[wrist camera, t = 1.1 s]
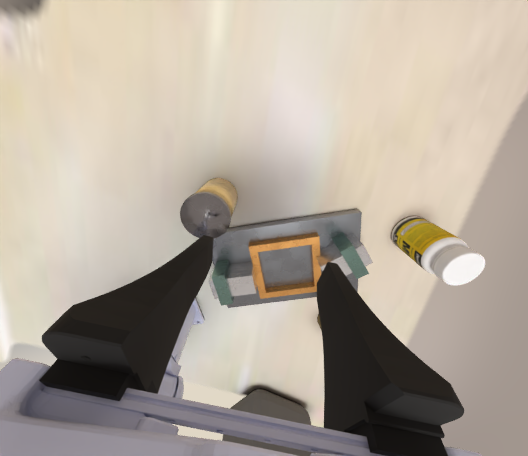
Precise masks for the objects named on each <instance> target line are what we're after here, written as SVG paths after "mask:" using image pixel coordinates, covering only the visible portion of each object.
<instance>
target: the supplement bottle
mask: <svg viewBox="0 0 528 456" xmlns="http://www.w3.org/2000/svg"><path fill="white" fill-rule="evenodd" d="M392 241H393V242H394V244H395V245H396V246H398V247H399V248H400V249H401V250H402V251H403V252H405V253H406V254H407V255H408V256H409V257H410V258H412V259H413V260H414V261H415V262H416V263H417V264H418V265H420V266H421V267H422V268H423V269H424V270H426V271H427V272H429V273H432V274H435V275H436V276H437V277H438V278H440V279H441V280H443V281H444V282H445V283H447V284H449V285H462V284H465V283H468V282H470V281H471V280H473V279H475V278H476V277H477V276H478V275H479V274H480V273H481V272H482V270H483V269H484V267H485V260H484V258H483V256H482V255H480V254H479V253H477V252H475V251H473V250H472V249H470V248H468V246H467V244H466V243H465V242H464V241H463V240H461V239H460V238H458V237H456V236H454V235H452V234H451V233H449V232H447V231H445V230H443V229H442V228H440V227H438V226H436V225H434V224H433V223H431V222H429V221H427V220H425V219H424V218H421V217H418V216H412V217H408V218H405V219H403V220H402V221H400V222H399V223H398V224H397V225H396V226H395V227H394V229H393V231H392Z"/></svg>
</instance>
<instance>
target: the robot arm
mask: <svg viewBox="0 0 528 456" xmlns="http://www.w3.org/2000/svg"><path fill="white" fill-rule="evenodd" d="M212 259H213V237H210V236H206V235H203V236H202V237H200V238H199V239H198V240H197V241H196V242H194V243H193V244H192V245H191V246H189V247H188V248H187V249H186V250H184V251H183V252H182V253H180V254H179V255H178V256H176V257H175V258H173V259H172V260H170V261H169V262H167V263H166V264H164V265H163V266H161V267H160V268H158V269H156V270H155V271H153V272H151V273H149V274H147V275H146V276H144V277H142V278H140V279H138V280H136V281H134V282H132V283H130V284H128V285H125V286H123V287H121V288H118V289H116V290H114V291H111V292H109V293H106V294H104V295H101V296H98V297H95V298H93V299H90V300H87V301H84V302H81V303H78V304H75V305H73V306H72V307H71V308H70V309H68V310H67V311H66V312H65V313H64V314H63V315H62V316H61V317H60V318H59V319H58V320H57V321H56V322H55V323H54V324H53V325H52V326H51V327H50V328H49V329H48V330H47V331H46V332H45V333H44V334H43V335H42V342H43V343H44V345H45V346H46V347H47V348H48V349H49V350H50V351H51V352H52V353H53V354H54V356H55V357H56V358H57V360H56V362H55V363H54V364H53V365H52V366H51V367H50V366H48V365H45V364H42V363H38V362H34V361H29V360H24V359H19V358H15V359H12V360H11V361H10V362H9V363H8V364H7V365H6V366H5V367H4V368H3V369H2V370H1V371H0V456H297V455H293V454H288V453H283V452H278V451H273V450H268V449H263V448H258V447H253V446H248V445H243V444H238V443H233V442H227V441H221V440H210V439H203V438H196V437H187V436H180V435H178V434H177V432H178V427H177V426H174V425H172V424H176V425H181V426H186V427H191V428H196V429H201V430H206V431H211V432H216V433H221V434H225V435H230V436H235V437H240V438H245V439H250V440H255V441H260V442H265V443H270V444H275V445H280V446H285V447H289V448H294V449H299V450H304V451H309V452H314V453H311V455H310V456H482V455H481V454H479V453H477V452H473V451H468V450H463V449H458V448H452V447H444V445H443V443H442V440H441V438H444V433H443V431H442V428H441V426H440V425H442V424H445V423H448V422H451V421H453V420H456V419H458V418H460V417H461V416H462V415H463V413H464V408H463V406H462V405H461V403H460V401H459V399H458V397H457V395H456V393H455V392H454V390H453V388H452V387H451V384H450V383H449V382H447V381H446V380H445V379H444V378H442V377H441V376H440V375H439V374H438V373H436V372H435V371H434V370H432V369H431V368H430V367H429V366H427V365H426V364H425V363H424V362H423V361H422V360H420V359H419V358H418V357H417V356H416V355H415V354H414V353H412V352H411V351H410V350H409V349H408V348H407V347H406V346H405V345H404V344H403V343H402V342H400V341H399V340H398V339H397V338H396V337H395V336H394V335H393V334H392V333H391V332H390V331H389V330H388V329H387V328H386V326H385V325H384V324H383V323H382V322H381V321H380V320H379V319H378V318H377V317H376V315H375V314H374V313H373V312H372V311H371V310H370V308H369V307H368V306H367V305H366V303H365V302H364V301H363V300H362V298H361V297H360V296H359V294H358V293H357V291H356V290H355V289H354V287H353V286H352V284H351V283H350V281H349V280H348V279H347V277H346V276H345V274H344V273H343V271H342V270H341V268H340V267H339V265H338V264H337V263H332V262H327V264H326V266H325V268H324V270H323V272H322V274H321V276H320V278H319V280H318V282H317V302H318V309H319V316H320V322H321V329H322V336H323V350H324V382H325V402H324V428H321V427H316V426H312V425H307V424H302V423H297V422H292V421H287V420H282V419H277V418H272V417H268V416H263V415H258V414H253V413H248V412H243V411H238V410H233V409H228V408H223V407H219V406H213V405H209V404H204V403H199V402H193V401H189V400H184V399H182V396H183V391H184V385H183V378H182V377H181V376H178V374H179V371H180V368H181V366H180V365H178V362H179V359H180V356H181V353H182V351H183V348H184V345H185V342H186V340H187V337H188V334H189V331H190V329H191V326H192V325H194V324H202V323H204V318H203V315H202V313H201V311H200V308H199V306H198V303H197V301H196V299H195V298H196V296H197V294H198V292H199V290H200V288H201V286H202V284H203V282H204V280H205V278H206V276H207V274H208V271H209V269H210V266H211V263H212Z"/></svg>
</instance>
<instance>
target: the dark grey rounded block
mask: <svg viewBox="0 0 528 456" xmlns="http://www.w3.org/2000/svg"><path fill="white" fill-rule="evenodd" d="M230 409H233V410H238V411H243V412H248V413H253V414H258V415H263V416H268V417H272V418H277V419H282V420H287V421H292V422H297V423H302V424H307V425H311V422H310V417H309V414H308V412H307V411H306V410H305V409H304V408H303V407H302V406H301V405H299V404H297V403H294V402H292V401H290V400H287V399H285V398H282V397H280V396H278V395H275V394H273V393H270V392H268V391H266V390H263V389H257V390H254V391H253V392H251V393H250V394H248V395H247V396H246V397H245V398H243V399H242V400H241V401H239V402H238V403H237V404H235V405H234V406H233V407H231V408H230ZM222 441H227V442H233V443H238V444H243V445H248V446H253V447H258V448H263V449H268V450H273V451H278V452H283V453H288V454H293V455H297V456H310V455H311V453H314V452H309V451H304V450H299V449H294V448H289V447H285V446H280V445H275V444H270V443H265V442H260V441H255V440H250V439H245V438H240V437H235V436H230V435H225V434H223V440H222Z"/></svg>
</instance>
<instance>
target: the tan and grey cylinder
mask: <svg viewBox="0 0 528 456" xmlns="http://www.w3.org/2000/svg"><path fill="white" fill-rule="evenodd" d="M237 198H238V197H237V191H236V189H235V187H234V186H233V185H232V184H231V183H230V182H229V181H227V180H225V179H222V178H214V179H211V180H209V181H208V182H207V183H206V184H204V185H203V186H202V187H201V188H200V189H199V190H198V191H197V192H196V193H195V194H193V195H191V196H190V197H189V198H187V199H186V200H185V202H184V203H183V205H182V207H181V211H180V216H181V221H182V223H183V225H184V227H185V228H186V229H187V230H188V231H189V232H190V233H191V234H192V235H194V236H196V237H198V238H200V237H202V236H203V235H206V236H210V237H213V239H215V238H218V237H220V236H221V235H223V234H224V233H225V232H226V231H227V229H228V227H229V225H230V222H231V216H232V213H233V211H234V208H235V205H236V202H237Z"/></svg>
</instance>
